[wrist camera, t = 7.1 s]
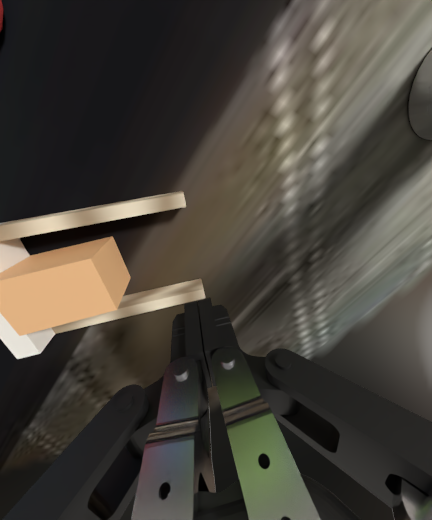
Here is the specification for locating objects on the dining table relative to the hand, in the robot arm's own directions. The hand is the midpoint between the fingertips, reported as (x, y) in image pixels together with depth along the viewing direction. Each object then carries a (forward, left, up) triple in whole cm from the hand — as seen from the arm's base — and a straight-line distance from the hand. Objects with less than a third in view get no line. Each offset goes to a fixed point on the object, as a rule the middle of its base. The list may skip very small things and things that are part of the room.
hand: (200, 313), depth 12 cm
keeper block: (+11, 0, -12) cm, 16 cm away
